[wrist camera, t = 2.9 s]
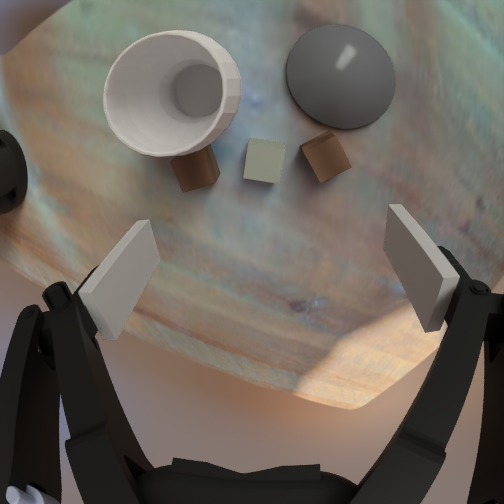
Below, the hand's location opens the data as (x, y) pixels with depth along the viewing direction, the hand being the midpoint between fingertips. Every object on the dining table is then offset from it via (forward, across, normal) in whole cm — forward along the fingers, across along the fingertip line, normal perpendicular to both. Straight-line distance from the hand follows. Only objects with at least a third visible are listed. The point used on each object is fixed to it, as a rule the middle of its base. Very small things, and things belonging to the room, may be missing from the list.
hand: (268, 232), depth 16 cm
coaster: (+21, +9, +9) cm, 25 cm away
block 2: (+22, -1, -1) cm, 22 cm away
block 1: (+21, -9, -1) cm, 23 cm away
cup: (+21, -7, +8) cm, 24 cm away
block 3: (+22, +6, 0) cm, 22 cm away
